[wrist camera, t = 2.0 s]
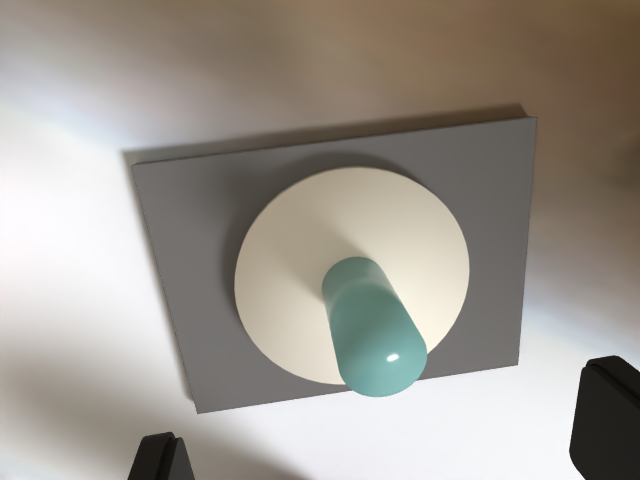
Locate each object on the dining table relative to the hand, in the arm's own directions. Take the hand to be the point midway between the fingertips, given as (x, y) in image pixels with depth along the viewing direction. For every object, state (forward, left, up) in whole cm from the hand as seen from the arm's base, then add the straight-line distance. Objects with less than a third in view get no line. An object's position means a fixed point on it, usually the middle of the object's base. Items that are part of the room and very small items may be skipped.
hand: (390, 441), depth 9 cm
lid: (-1, 0, -9) cm, 9 cm away
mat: (-1, 0, -10) cm, 10 cm away
